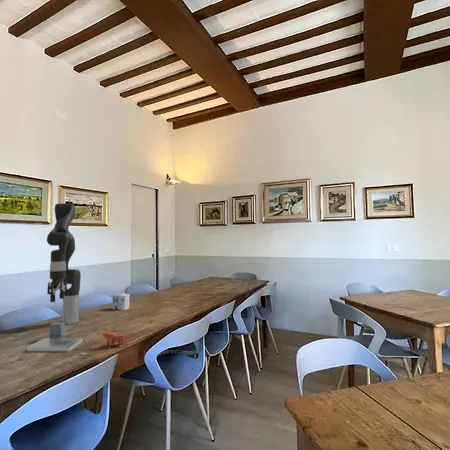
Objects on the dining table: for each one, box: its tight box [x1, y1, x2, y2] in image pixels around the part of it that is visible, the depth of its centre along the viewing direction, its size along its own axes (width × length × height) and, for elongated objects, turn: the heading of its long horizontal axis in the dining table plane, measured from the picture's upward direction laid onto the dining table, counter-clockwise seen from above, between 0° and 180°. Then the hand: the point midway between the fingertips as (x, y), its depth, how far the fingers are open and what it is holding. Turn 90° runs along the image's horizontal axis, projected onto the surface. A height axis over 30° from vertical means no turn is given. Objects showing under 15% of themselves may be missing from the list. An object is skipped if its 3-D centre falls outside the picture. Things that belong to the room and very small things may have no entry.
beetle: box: [101, 319, 135, 351], centre depth 156 cm, size 15×12×13 cm
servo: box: [47, 321, 68, 338], centre depth 166 cm, size 4×8×8 cm, turn 90°
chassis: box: [26, 337, 84, 353], centre depth 154 cm, size 14×20×2 cm
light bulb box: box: [111, 292, 130, 311], centre depth 236 cm, size 11×7×11 cm, turn 76°
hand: (57, 300), depth 167 cm, fingers open, 8 cm apart
